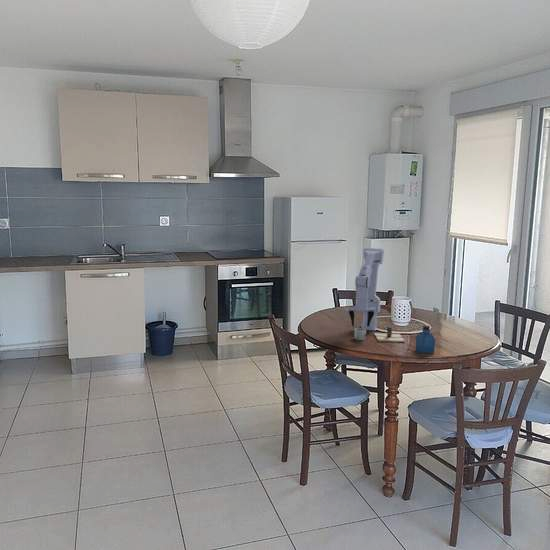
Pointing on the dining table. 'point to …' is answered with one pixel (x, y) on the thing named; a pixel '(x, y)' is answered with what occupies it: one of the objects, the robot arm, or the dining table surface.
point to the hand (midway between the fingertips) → (360, 325)
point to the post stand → (389, 336)
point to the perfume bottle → (425, 341)
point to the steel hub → (360, 334)
